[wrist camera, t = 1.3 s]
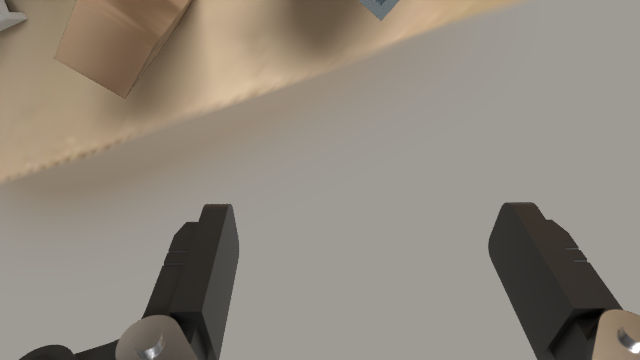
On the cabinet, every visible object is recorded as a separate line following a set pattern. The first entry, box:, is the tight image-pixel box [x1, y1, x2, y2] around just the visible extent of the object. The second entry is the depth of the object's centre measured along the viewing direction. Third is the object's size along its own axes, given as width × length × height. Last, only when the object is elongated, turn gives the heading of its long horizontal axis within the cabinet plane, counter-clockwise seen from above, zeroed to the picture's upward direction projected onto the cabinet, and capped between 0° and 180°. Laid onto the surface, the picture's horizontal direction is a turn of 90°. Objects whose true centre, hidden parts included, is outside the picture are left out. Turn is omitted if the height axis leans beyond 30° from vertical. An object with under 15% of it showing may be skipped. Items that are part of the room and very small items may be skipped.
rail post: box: [54, 0, 192, 98], centre depth 26 cm, size 4×4×12 cm
